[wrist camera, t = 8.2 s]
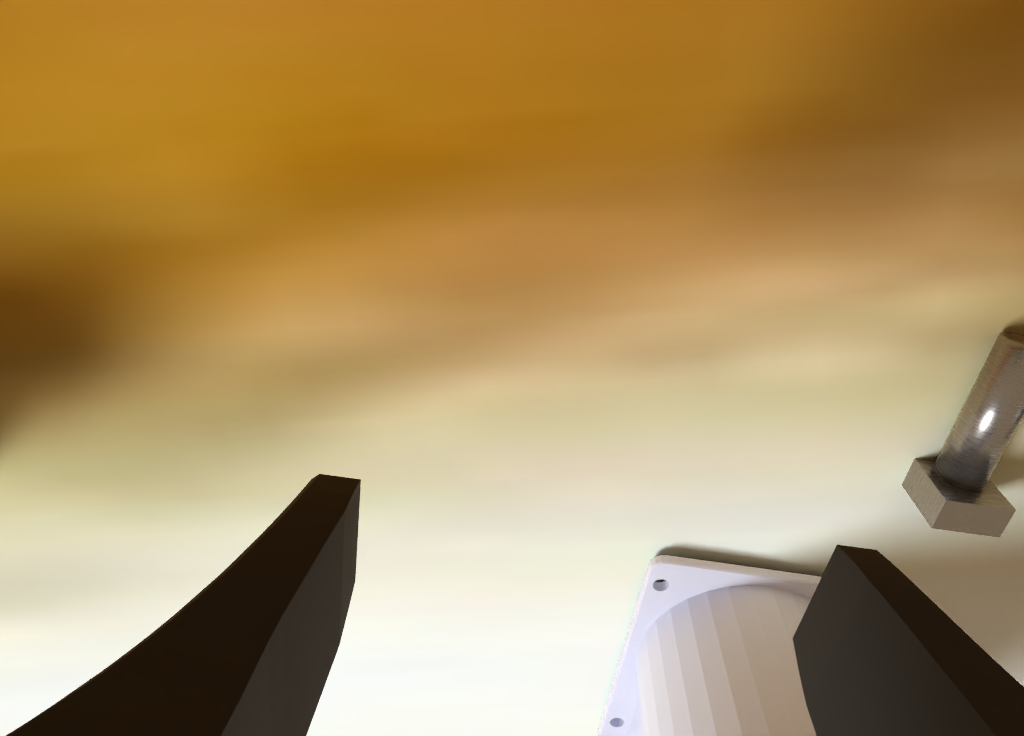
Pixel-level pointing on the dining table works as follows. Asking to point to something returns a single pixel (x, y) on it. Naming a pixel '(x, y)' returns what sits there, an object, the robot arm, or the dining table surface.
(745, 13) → the dining table surface
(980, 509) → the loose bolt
